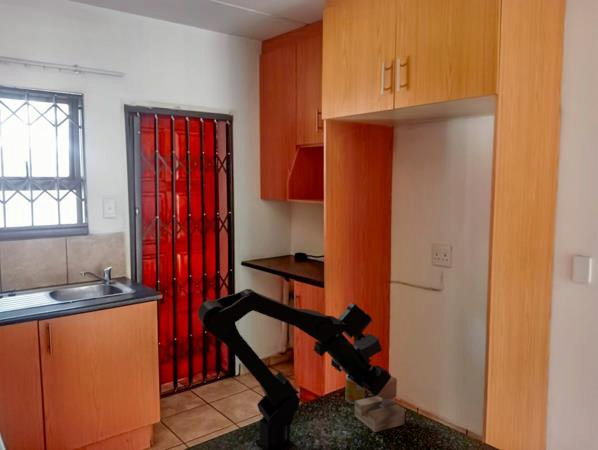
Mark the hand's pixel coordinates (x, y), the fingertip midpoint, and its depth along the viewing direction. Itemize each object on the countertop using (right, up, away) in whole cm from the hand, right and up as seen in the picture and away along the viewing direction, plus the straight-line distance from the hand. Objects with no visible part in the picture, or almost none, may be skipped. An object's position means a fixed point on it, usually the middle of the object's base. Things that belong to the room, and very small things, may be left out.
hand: (377, 389), depth 118 cm
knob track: (+1, -8, +1) cm, 8 cm away
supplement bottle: (-4, -7, +12) cm, 15 cm away
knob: (+2, -7, +2) cm, 7 cm away
